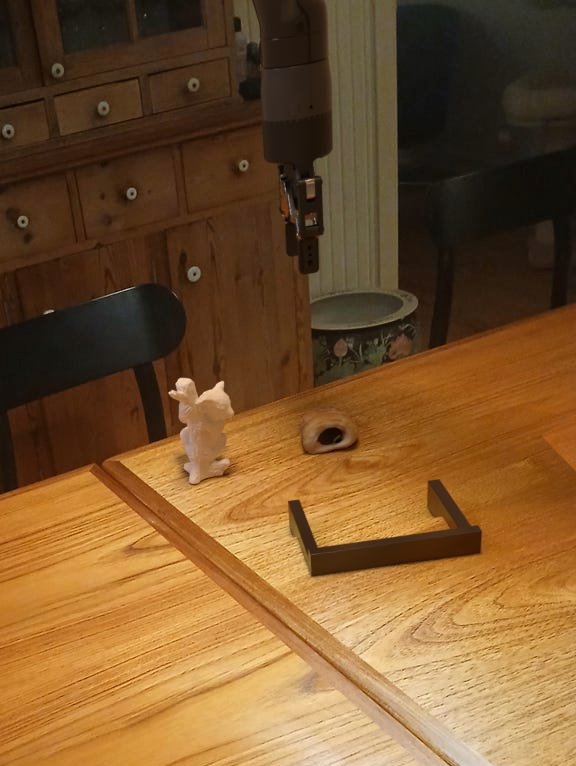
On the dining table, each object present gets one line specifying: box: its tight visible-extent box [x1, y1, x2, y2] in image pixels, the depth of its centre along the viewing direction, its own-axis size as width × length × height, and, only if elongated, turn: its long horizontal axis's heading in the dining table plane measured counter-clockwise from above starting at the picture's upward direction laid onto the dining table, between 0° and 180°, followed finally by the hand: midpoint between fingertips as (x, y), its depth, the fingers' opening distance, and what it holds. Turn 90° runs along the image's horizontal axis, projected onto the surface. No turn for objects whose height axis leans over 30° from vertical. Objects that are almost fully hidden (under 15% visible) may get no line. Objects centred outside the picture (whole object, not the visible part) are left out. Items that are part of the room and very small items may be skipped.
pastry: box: [298, 406, 360, 455], centre depth 119 cm, size 9×7×4 cm
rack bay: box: [287, 478, 483, 577], centre depth 96 cm, size 15×13×4 cm
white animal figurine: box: [168, 377, 235, 485], centre depth 114 cm, size 8×7×12 cm
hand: (302, 263), depth 116 cm, fingers open, 8 cm apart
